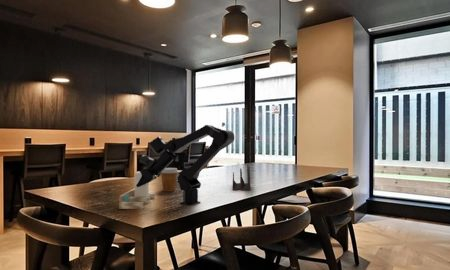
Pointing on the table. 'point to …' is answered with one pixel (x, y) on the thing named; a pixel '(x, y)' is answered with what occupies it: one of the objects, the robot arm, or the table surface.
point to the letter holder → (242, 181)
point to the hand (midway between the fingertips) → (138, 185)
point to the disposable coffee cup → (169, 179)
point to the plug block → (141, 190)
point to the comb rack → (134, 200)
